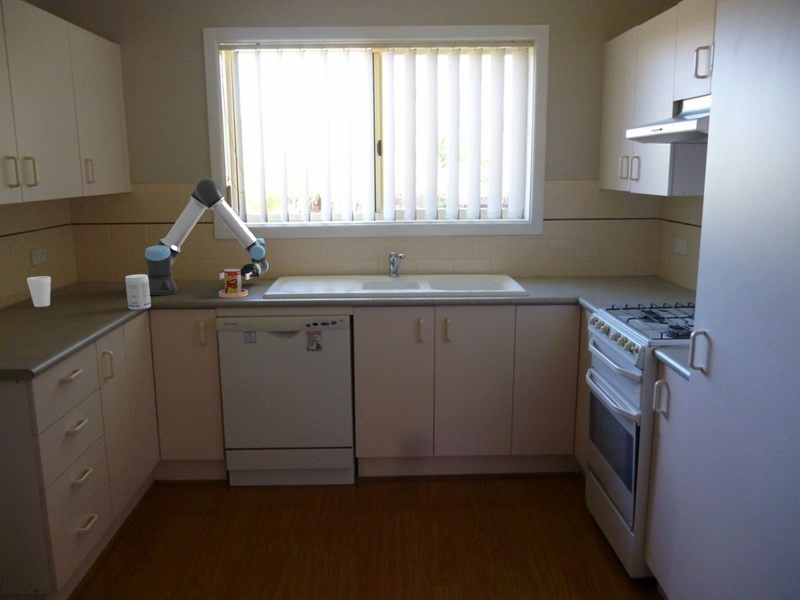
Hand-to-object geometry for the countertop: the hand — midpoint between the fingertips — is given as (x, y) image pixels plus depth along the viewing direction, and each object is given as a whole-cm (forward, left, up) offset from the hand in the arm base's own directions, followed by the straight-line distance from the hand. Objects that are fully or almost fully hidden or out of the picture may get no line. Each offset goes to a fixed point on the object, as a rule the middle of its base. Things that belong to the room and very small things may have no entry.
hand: (233, 276), depth 321 cm
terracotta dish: (0, 0, -9) cm, 9 cm away
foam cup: (-78, -36, -9) cm, 87 cm away
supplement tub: (-29, -35, -9) cm, 47 cm away
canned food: (0, 0, -9) cm, 9 cm away
